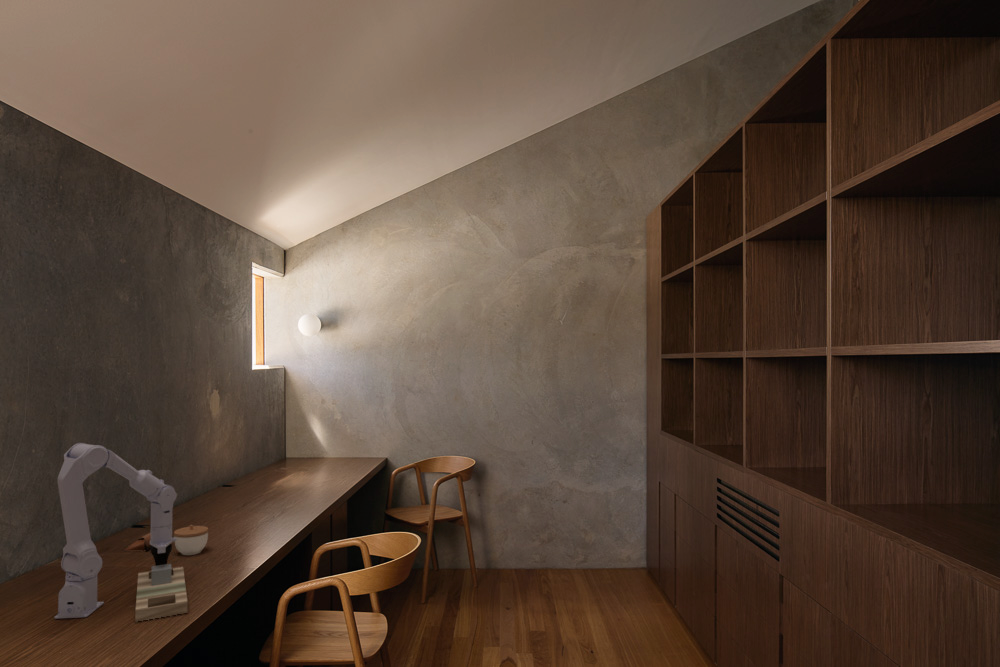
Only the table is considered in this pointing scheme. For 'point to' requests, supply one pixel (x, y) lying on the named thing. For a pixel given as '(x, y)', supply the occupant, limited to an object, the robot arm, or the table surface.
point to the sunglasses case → (141, 543)
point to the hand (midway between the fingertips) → (161, 571)
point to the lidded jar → (191, 539)
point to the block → (161, 574)
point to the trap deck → (161, 596)
